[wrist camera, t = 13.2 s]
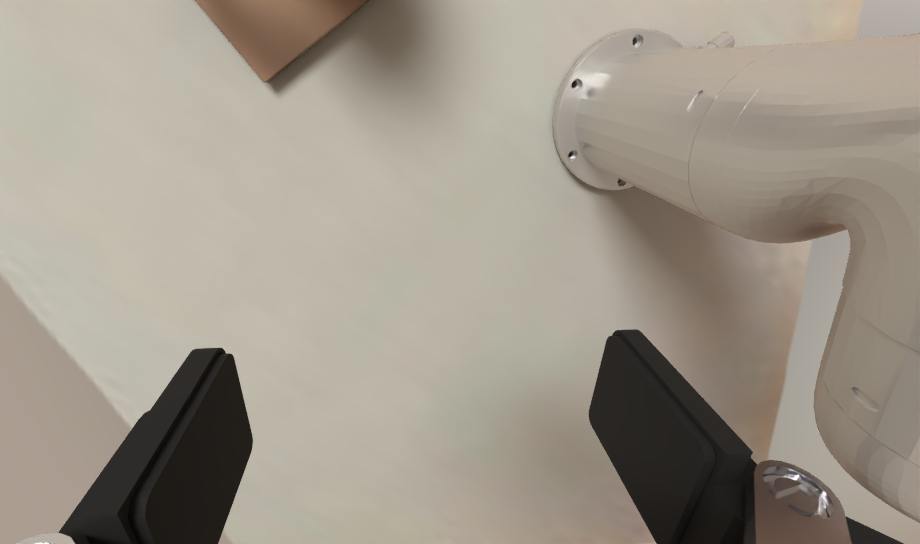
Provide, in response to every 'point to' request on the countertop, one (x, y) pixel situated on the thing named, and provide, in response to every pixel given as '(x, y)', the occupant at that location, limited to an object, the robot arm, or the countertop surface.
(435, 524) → the countertop surface
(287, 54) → the ring board
